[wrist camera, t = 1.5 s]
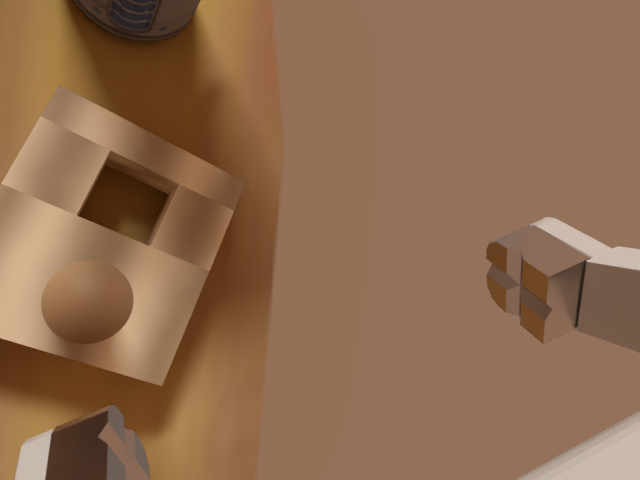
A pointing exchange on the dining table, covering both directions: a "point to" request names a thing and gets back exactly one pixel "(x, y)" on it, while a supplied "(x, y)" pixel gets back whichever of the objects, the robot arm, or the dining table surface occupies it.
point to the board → (108, 233)
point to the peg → (87, 302)
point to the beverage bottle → (140, 17)
